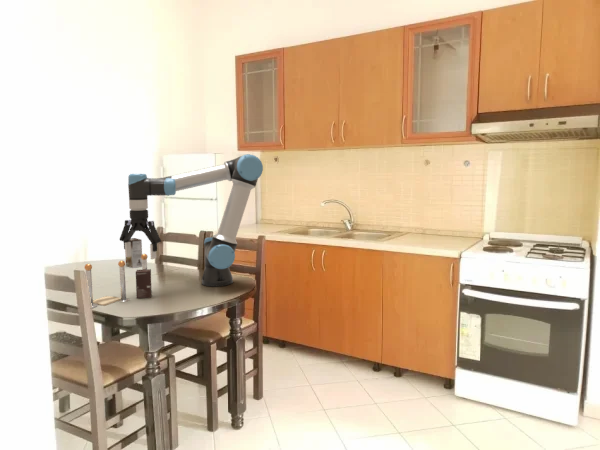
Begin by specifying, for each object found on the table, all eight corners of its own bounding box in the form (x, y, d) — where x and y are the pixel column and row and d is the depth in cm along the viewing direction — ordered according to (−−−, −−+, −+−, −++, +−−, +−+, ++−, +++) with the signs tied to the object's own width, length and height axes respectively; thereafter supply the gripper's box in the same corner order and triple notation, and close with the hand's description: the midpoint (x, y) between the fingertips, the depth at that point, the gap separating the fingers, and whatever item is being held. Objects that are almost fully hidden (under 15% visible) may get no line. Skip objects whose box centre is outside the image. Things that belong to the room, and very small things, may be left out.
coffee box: (125, 265, 258) (123, 239, 256) (135, 264, 263) (134, 237, 261) (132, 267, 252) (131, 240, 250) (143, 266, 257) (142, 239, 255)
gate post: (153, 291, 201) (152, 253, 199) (146, 293, 196) (144, 255, 194) (145, 290, 203) (143, 252, 201) (137, 292, 198) (135, 254, 196)
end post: (100, 305, 179) (97, 263, 177) (90, 309, 174) (87, 265, 172) (90, 304, 181) (88, 262, 179) (80, 307, 176) (78, 264, 174)
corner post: (132, 300, 188) (130, 259, 186) (124, 303, 184) (122, 262, 181) (123, 299, 190) (121, 259, 188) (114, 302, 185) (112, 261, 183)
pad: (122, 299, 188) (122, 297, 188) (104, 305, 179) (104, 304, 179) (106, 297, 191) (106, 295, 191) (88, 303, 182) (87, 302, 182)
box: (136, 299, 189) (135, 271, 187) (137, 296, 193) (136, 269, 192) (151, 298, 190) (149, 270, 189) (152, 295, 194) (151, 268, 193)
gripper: (168, 209, 188) (169, 258, 190) (122, 208, 196) (124, 254, 199) (156, 210, 181) (158, 261, 183) (109, 209, 189) (111, 257, 192)
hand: (140, 257), depth 191 cm, fingers open, 13 cm apart
